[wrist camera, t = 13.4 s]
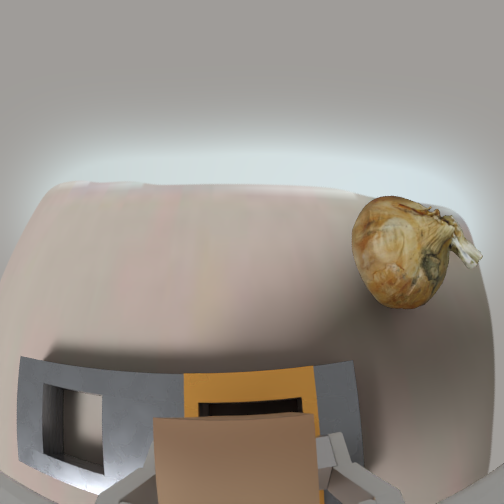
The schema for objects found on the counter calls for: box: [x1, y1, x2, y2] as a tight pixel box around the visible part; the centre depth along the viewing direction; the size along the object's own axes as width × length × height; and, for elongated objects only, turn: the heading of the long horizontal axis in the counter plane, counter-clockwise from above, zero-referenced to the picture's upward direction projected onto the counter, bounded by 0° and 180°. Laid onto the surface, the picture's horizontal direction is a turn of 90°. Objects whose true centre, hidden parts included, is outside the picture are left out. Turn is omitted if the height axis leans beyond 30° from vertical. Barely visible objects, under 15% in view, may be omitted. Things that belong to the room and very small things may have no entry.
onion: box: [352, 196, 483, 309], centre depth 17 cm, size 8×8×8 cm
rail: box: [17, 356, 364, 504], centre depth 13 cm, size 9×24×3 cm, turn 93°
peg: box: [153, 412, 320, 504], centre depth 9 cm, size 4×4×10 cm
